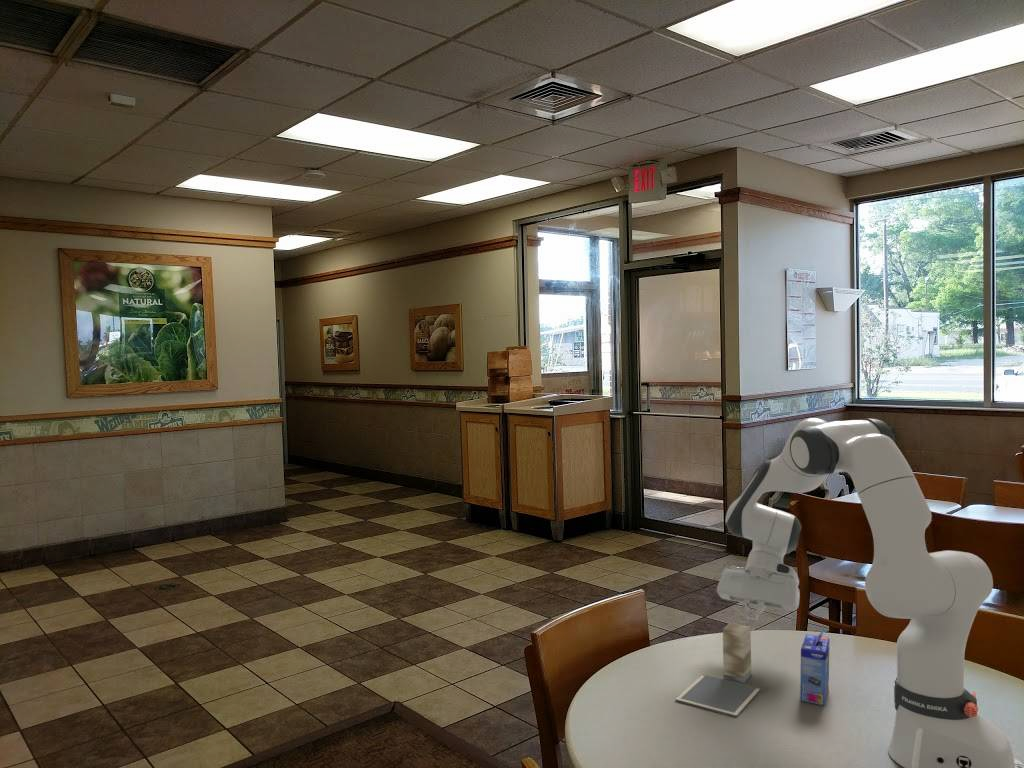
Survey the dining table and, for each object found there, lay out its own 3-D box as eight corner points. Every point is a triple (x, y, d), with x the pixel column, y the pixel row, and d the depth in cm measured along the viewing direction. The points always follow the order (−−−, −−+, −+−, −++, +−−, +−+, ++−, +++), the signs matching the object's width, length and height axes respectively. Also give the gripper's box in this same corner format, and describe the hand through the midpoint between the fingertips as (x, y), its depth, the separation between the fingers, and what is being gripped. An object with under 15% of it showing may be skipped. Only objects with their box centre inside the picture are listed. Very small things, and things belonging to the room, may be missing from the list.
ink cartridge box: (826, 707, 164) (825, 641, 163) (799, 702, 166) (798, 637, 166) (830, 688, 172) (829, 626, 172) (805, 684, 175) (804, 623, 175)
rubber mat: (761, 690, 173) (761, 687, 173) (736, 717, 160) (736, 715, 160) (703, 675, 181) (703, 673, 181) (675, 701, 168) (675, 698, 168)
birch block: (751, 675, 181) (750, 626, 180) (744, 683, 177) (743, 632, 176) (731, 671, 184) (730, 622, 183) (723, 678, 180) (722, 628, 179)
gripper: (721, 558, 199) (707, 604, 192) (800, 569, 187) (789, 620, 180) (727, 570, 203) (714, 617, 196) (805, 582, 191) (794, 632, 183)
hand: (751, 618), depth 188 cm, fingers closed
